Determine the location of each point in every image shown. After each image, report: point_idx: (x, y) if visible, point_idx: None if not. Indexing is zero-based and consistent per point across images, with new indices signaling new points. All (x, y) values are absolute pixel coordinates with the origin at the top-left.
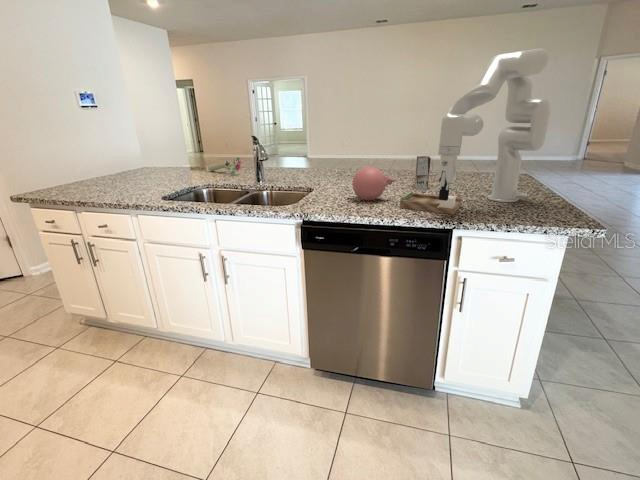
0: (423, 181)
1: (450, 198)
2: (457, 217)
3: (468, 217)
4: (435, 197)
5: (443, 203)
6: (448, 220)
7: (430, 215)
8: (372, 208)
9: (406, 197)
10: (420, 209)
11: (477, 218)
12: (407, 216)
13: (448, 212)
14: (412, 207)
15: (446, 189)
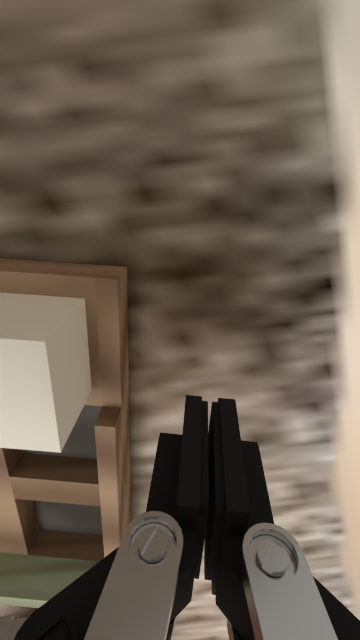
0: None
1: (46, 370)
2: (190, 227)
3: (150, 132)
4: None
5: (78, 387)
6: (299, 281)
7: (212, 400)
8: (194, 615)
9: (41, 582)
10: (128, 467)
11: (147, 32)
12: (280, 495)
13: (124, 309)
14: (128, 507)
15: (297, 559)
